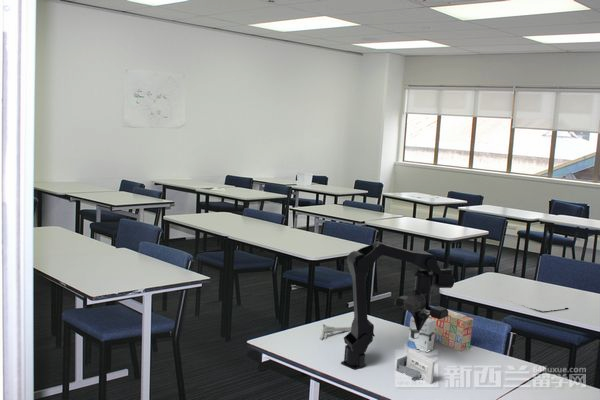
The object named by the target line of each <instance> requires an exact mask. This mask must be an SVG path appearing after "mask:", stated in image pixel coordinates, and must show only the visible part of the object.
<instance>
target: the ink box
mask: <svg viewBox="0 0 600 400" xmlns="http://www.w3.org/2000/svg"><path fill="white" fill-rule="evenodd" d="M435 325H436V321H435V320H433V319H430V318H428V319H427V320H426V322H425V323H424V325H423V327H422V328H421V330H420V331H418V330H417V329H416V325H415V321H414V317H413V316H411V317H410V319H409V329H408V330H409V331H408V338H407V339H408V341H407V347H409V346H410V347H409V348H411V347H413V348H412V349H414V348H417V349H423V350H426V351H428V350H432V351H433V350H434V342H435V341H434V334H435ZM417 349H416V350H417Z"/></svg>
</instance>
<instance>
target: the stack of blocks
mask: <svg viewBox="0 0 600 400" xmlns="http://www.w3.org/2000/svg"><path fill="white" fill-rule="evenodd" d="M446 309H447V310H448V317H445V318H442V319H436V318H433V317H431V315H430V316H429V317H428V318H430V319H433V320H435V321H436V325H435V334H434V342H437V343H440V344H441V345H442V344H443V345H444V344H445V345H444V346H448V347H449V348H451V347H452V348H451V349H454V350H456V349H457V350H456V351H459V352H462V350H463V351H465V350H464V349H466V350H468V349H467V348H469V349H470V348H471V340H472V333H473V328H474V326H473V324H474V318H473V317H469V316H467V315H465V314H463V313H459V312H455V311H453V310H449V309H448V308H446Z"/></svg>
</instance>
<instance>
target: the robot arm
mask: <svg viewBox="0 0 600 400" xmlns="http://www.w3.org/2000/svg"><path fill="white" fill-rule="evenodd" d="M382 256H385V257H388V258H393V259H396V260H399V261H403V262H407V263H410V264H413V265H415V266H417V267H415V268H414V269H413V270H411V271H410V274H411V275H413V276H415V282H414V289H413V290H412V291H411V294H410V296H407V295H401V296H399V297H398V296H397V297H396V299H394V305H395V306H398V307H400V308H402V307H403V309H404V310H405V311H408V312H409V313H410V314H411V315H412V317H414V321H415V325H416V329H417V330H418V331H420V330H421V328H422V327H423V325H424V323H425V322H426V320H427V319H428V317H429V316H430V315H431V317H433V318H436V319H442V318H445V317H448V310H449V309H448V308H445V307H443V306H440V305H437V306H434V307H433V306H432V305H433V302H431V298H432V295H433V294H434V290H432V289H433V288H432V287H434V288H436V289H452V288H453V286H454V285H455V277H454V274H453V270H452V269H451V268H441V267H440V266H439V265H438V259H437V257H436V255H434V254H432V253H429V252H427V251H426V250H409V249H405V248H402V247H398V246H393V245H390V244H386V243H382V242H381V241H375V242H372V243H371V244H368V245H367V246H363V247H361V248H358V250H353V251H351V252H349V254H348V255H347V256H346V263H347V267H348V270H349V273H350V276H351V280H352V295H353V299H352V300H353V320H352V323H351V326H350V327H351V331H348V333H347V334H346V335H345V336H344V337H343V340H344V343H345V344H346V345H344V357H343V358H344V359H343V360H342V361H340V364H341V365H344V366H345V367H348V368H350V369H353V370H357V369H360V368H363V367H366V366H367V363H366V352H367V350H368V348H369V345H370V344H371V343H372V342H373V340H374V339H373V338H374V337H375V336H376V335H375V333H374V331H375V329H374V328H375V325H374V324H373V323H372V322H371V321H370V320H369V319H368V303H367V299H368V298H367V285H366V284H367V283H366V280H367V277H368V274H369V269H370V266H371V265H373V264H374V263H375V262H377V261H378V259H379V258H380V257H382ZM418 267H419V268H421V269H419V268H418ZM447 309H448V310H447Z"/></svg>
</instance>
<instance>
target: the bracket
mask: <svg viewBox="0 0 600 400" xmlns="http://www.w3.org/2000/svg"><path fill="white" fill-rule="evenodd" d="M396 361H397V362H396V368H395V369H396V370H395V371H396V372H398V373H400V374H403V373H405V374H406V375H405V374H404V375H405V376H408V377H410V378H411V380H412V381H414V382H416V381H417V380H419V381H420V380H421V379H420V374H421V372H419V371H416V370H414V369H411V368H409V367H407V366H406V364H407V356H405V355H404V356H403V357H400V358H398V359H396Z"/></svg>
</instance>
